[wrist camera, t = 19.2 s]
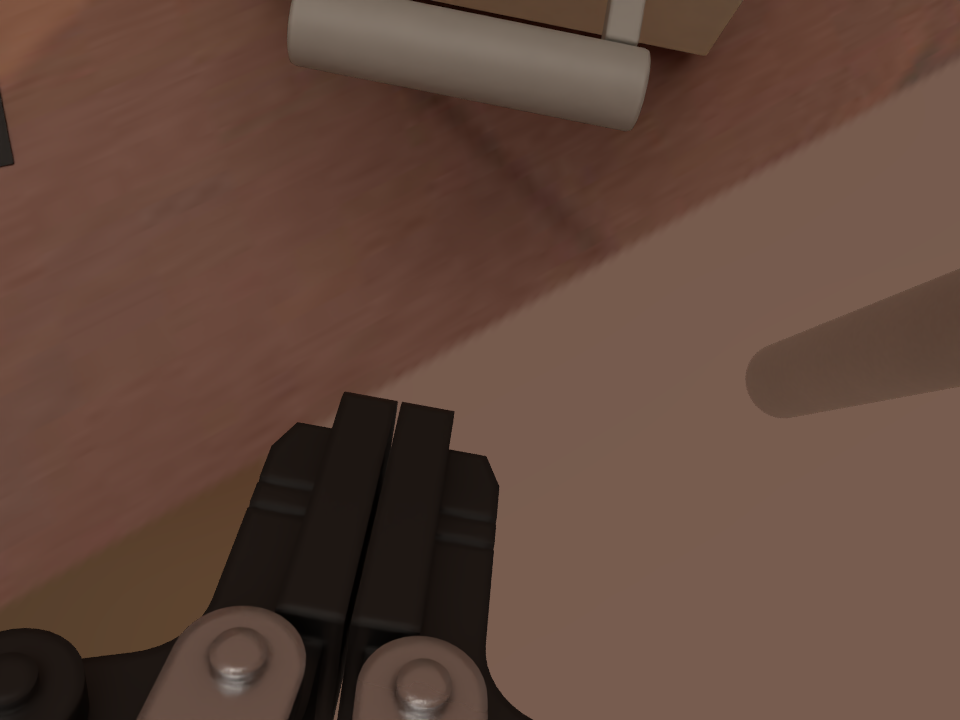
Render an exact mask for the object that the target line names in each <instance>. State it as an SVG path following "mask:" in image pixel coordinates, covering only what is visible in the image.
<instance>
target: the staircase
mask: <svg viewBox="0 0 960 720" xmlns="http://www.w3.org/2000/svg"><path fill="white" fill-rule="evenodd" d="M9 164H14V163H13V158H12V153H11V148H10V143H9V138H8V132H7V127H6V122H5V117H4V112H3V107H2V102H1V97H0V166H4V165H9Z"/></svg>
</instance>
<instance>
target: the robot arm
mask: <svg viewBox="0 0 960 720" xmlns="http://www.w3.org/2000/svg"><path fill="white" fill-rule="evenodd" d="M397 403H398V402H397V401H394V400H388V399H383V398H377V397H372V396H367V395H361V394H356V393H350V392H344V393H343V396H342V399H341V402H340V405H339V408H338V411H337V414H336V417H335V421H334V424H333V427H332V428H326V427H321V426H315V425H310V424H304V423H299V422H297V423H296V424H295V425H294V426H293V427H292V428H291V429H290V430H289V431H287V432H286V433H285V434H284V435H283V436H282V437H281V438H280V439H279V440H278V441H276V442H275V443H274V444H273V445H272V446H271V449H270V451H269V454H268V456H267V459H266V462H265V464H264V467H263V469H262V472H261V475H260V479H259V482H258V483H257V485H256V488H255V490H254V493H253V495H252V498H251V500H250V506H249V508H247V511H246V514H245V516H244V518H243V521H242V524H241V526H240V529H239V532H238V534H237V537H236V539H235V542H234V545H233V547H232V549H231V552H230V555H229V557H228V560H227V562H226V565H225V568H224V571H223V573H222V575H221V578H220V580H219V583H218V586H217V588H216V591H215V593H214V596H213V598H212V601H211V603H210V605H209V607H208V608H207V610H206V611H205V613H204V614H203V616H202V617H201V618H199V619H197V620H196V621H194V622H193V623H192V624H191V625H190V626H188V627H187V628H186V629H185V630H184V632H183V633H182V634H181V635H180V636H178V637H177V638H175V639H173V640H172V641H169V642H167V643H165V644H163V645H160V646H157V647H155V648H151V649H148V650H144V651H138V652H132V653H125V654H116V655H107V656H99V657H91V658H83V659H81V656H80V655H79V653H78V651H77V650H76V648H75V647H74V646H73V645H72V644H71V643H70V642H69V641H67V640H66V639H64V638H63V637H61V636H59V635H57V634H54V633H52V632H50V631H45V630H40V629H31V628H21V629H11V630H6V631H1V632H0V720H333V719H334V715H335V710H336V706H337V702H338V697H339V693H340V688H341V684H342V690H341V697H340V704H339V711H338V719H337V720H532V719H531V718H529V717H527V716H526V715H524V714H522V713H521V712H520V711H518V710H517V709H516V708H515V707H514V706H512V705H511V704H510V703H509V702H508V701H507V700H506V698H505V697H504V696H503V695H502V694H501V692H500V691H499V690H498V688H497V687H496V685H495V683H494V681H493V679H492V677H491V675H490V672H489V669H488V667H487V661H486V635H487V623H488V612H489V600H490V589H491V577H492V565H493V554H494V551H493V548H494V542H495V530H496V518H497V508H498V495H499V485H498V482H497V480H496V478H495V476H494V473H493V471H492V468H491V466H490V464H489V462H488V459H487V457H486V456H482V455H477V454H471V453H466V452H460V451H454V450H449V444H450V438H451V432H452V425H453V418H454V411H449V410H444V409H439V408H433V407H428V406H422V405H417V404H411V403H406V402H402V404H401V408H400V412H399V416H398V420H397V425H396V429H395V433H394V438H393V431H394V425H395V418H396V412H397ZM392 438H393V442H392ZM391 444H392V446H391ZM343 675H344V676H343ZM342 679H343V683H342Z"/></svg>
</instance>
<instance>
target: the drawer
mask: <svg viewBox="0 0 960 720" xmlns="http://www.w3.org/2000/svg"><path fill="white" fill-rule="evenodd" d="M432 1H437V2H441V3H446V4H451V5H456V6H461V7H466V8H471V9H476V10H481V11H486V12H491V13H496V14H501V15H505V16H510V17H515V18H520V19H525V20H530V21H535V22H540V23H545V24H550V25H555V26H560V27H565V28H569V29H574V30H579V31H584V32H589V33H594V34H599V35H602V37H601V39H597V38H593V37H588V36H583V35H578V34H573V33H568V32H563V31H558V30H553V29H548V28H543V27H538V26H533V25H528V24H524V23H519V22H514V21H509V20H504V19H499V18H494V17H489V16H484V15H479V14H474V13H469V12H464V11H459V10H455V9H450V8H445V7H440V6H435V5H430V4H425V3H420V2H415V1H410V0H292V2H291V7H290V12H289V19H288V29H287V48H288V55H289V59H290V61H291V63H293V64H294V65H296V66H300V67H305V68H310V69H315V70H320V71H325V72H330V73H335V74H340V75H345V76H350V77H355V78H360V79H365V80H370V81H375V82H380V83H385V84H391V85H396V86H401V87H406V88H411V89H416V90H421V91H426V92H431V93H436V94H441V95H446V96H451V97H456V98H461V99H466V100H471V101H476V102H481V103H486V104H491V105H496V106H501V107H506V108H511V109H516V110H521V111H526V112H531V113H536V114H541V115H546V116H551V117H556V118H561V119H566V120H571V121H576V122H581V123H586V124H591V125H596V126H601V127H606V128H612V129H617V130H622V131H630V130H632V128H633V127H634V125H635V124H636V122H637V120H638V117H639V114H640V111H641V108H642V105H643V102H644V98H645V94H646V90H647V85H648V80H649V74H650V65H651V58H650V51H649V50H647V49H646V48H642V47H637V45H638V43H643V44H648V45H653V46H658V47H663V48H668V49H673V50H678V51H683V52H688V53H693V54H698V55H702V56H705V55H707V54H708V52H709V51H710V49H711V48H712V46H713V45H714V43H715V42H716V40H717V39H718V37H719V36H720V34H721V33H722V31H723V30H724V28H725V27H726V25H727V24H728V22H729V21H730V19H731V18H732V16H733V15H734V13H735V12H736V10H737V9H738V7H739V6H740V4H741V3H742V1H743V0H432Z"/></svg>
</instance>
